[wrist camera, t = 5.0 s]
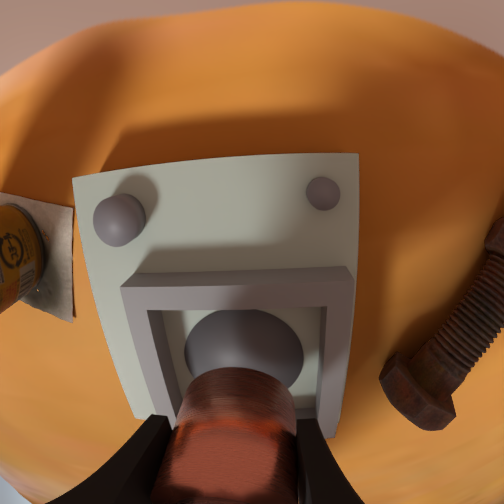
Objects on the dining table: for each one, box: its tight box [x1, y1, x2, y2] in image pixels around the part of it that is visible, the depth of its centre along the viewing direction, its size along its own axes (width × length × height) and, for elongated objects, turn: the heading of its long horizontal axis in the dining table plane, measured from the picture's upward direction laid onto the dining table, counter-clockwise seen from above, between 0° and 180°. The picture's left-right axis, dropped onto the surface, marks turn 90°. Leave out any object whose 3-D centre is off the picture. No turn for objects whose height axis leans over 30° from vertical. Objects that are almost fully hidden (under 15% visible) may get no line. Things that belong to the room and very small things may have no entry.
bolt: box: [379, 217, 504, 431], centre depth 13 cm, size 6×5×15 cm
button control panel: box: [72, 153, 359, 439], centre depth 14 cm, size 14×12×4 cm
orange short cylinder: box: [150, 367, 298, 504], centre depth 8 cm, size 4×4×6 cm
